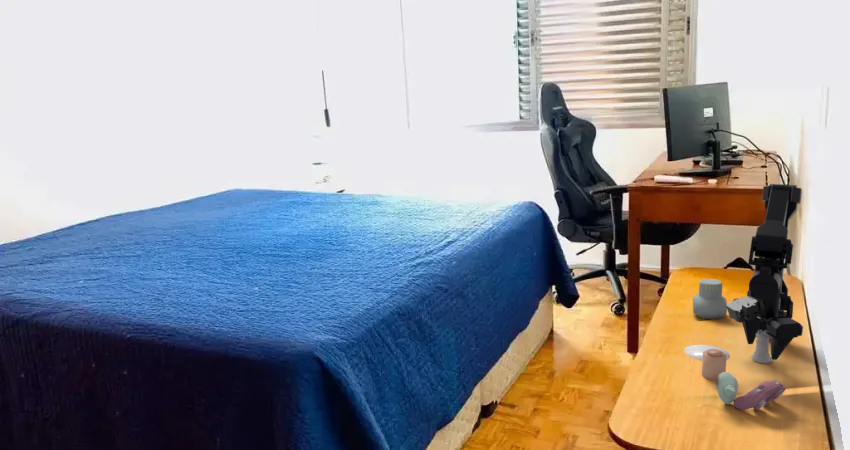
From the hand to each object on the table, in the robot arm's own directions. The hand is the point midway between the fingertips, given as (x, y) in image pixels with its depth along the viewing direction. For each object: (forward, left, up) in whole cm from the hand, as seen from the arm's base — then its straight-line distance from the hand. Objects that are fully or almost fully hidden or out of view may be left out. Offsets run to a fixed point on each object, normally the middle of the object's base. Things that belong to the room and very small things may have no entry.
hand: (761, 351), depth 155 cm
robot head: (+18, +17, -3) cm, 25 cm away
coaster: (+10, -6, -3) cm, 12 cm away
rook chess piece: (0, 0, -3) cm, 3 cm away
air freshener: (-5, -32, -3) cm, 32 cm away
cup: (+15, +6, -3) cm, 16 cm away
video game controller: (+12, +19, -3) cm, 23 cm away
